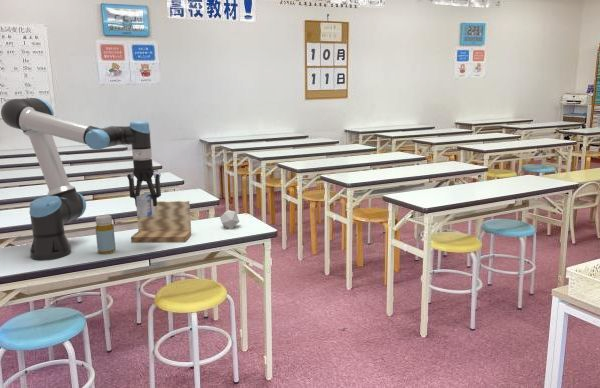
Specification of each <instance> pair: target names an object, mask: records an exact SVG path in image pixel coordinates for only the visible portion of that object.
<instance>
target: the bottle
mask: <svg viewBox="0 0 600 388" xmlns="http://www.w3.org/2000/svg"><path fill="white" fill-rule="evenodd" d="M112 217H113V216H112V215H111V214H102V215H98V216H96V217H95V236H96V244H97V247H96V248H97V252H98V253H99V254H101V255H107V254H112V253H114V252H115V251H116V247H117V246H116V240H115V239H116V237H115V228H114V227H115V226H114V225H113V219H112Z"/></svg>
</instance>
